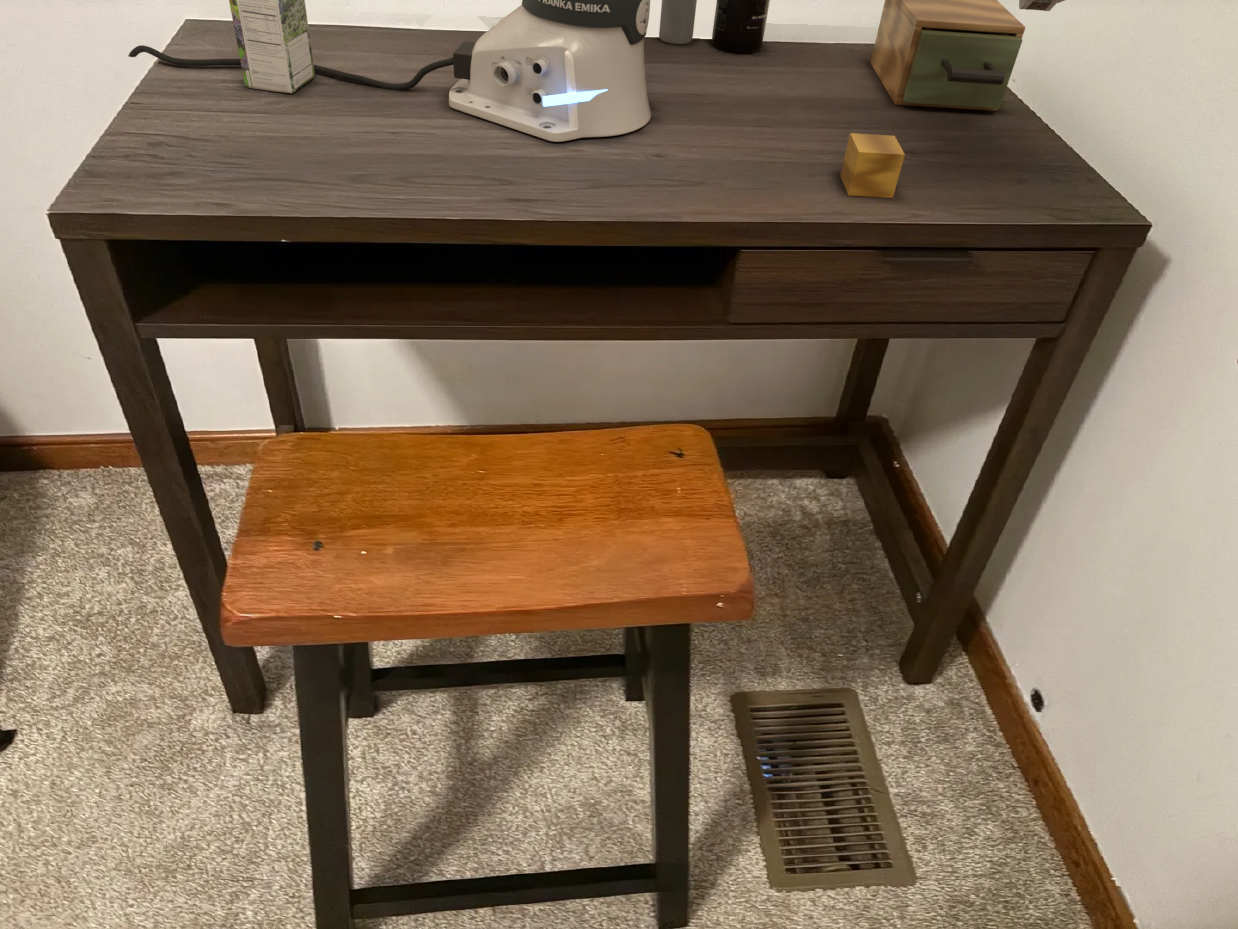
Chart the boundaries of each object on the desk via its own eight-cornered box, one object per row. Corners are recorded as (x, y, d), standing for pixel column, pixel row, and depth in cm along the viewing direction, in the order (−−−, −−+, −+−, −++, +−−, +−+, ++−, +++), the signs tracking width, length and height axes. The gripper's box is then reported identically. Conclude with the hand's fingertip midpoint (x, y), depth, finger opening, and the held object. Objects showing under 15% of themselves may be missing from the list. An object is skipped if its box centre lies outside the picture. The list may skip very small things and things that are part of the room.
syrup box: (269, 71, 106) (243, -72, 96) (318, 77, 105) (296, -66, 96) (244, 88, 102) (214, -60, 92) (294, 95, 101) (269, -53, 91)
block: (848, 195, 91) (858, 151, 88) (839, 175, 94) (850, 132, 91) (892, 198, 91) (905, 154, 88) (883, 178, 95) (894, 135, 92)
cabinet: (997, 111, 111) (1025, 26, 105) (894, 104, 111) (917, 19, 104) (963, 69, 122) (987, -10, 116) (870, 63, 122) (888, -17, 115)
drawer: (1012, 124, 106) (1037, 54, 101) (915, 118, 105) (935, 47, 100) (967, 69, 119) (987, 4, 114) (880, 63, 119) (896, -2, 114)
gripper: (1238, -118, 77) (1137, -21, 91) (997, -136, 76) (932, -36, 90) (1238, -44, 76) (1136, 41, 90) (996, -62, 75) (931, 27, 89)
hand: (1033, 3), depth 90 cm, fingers closed
